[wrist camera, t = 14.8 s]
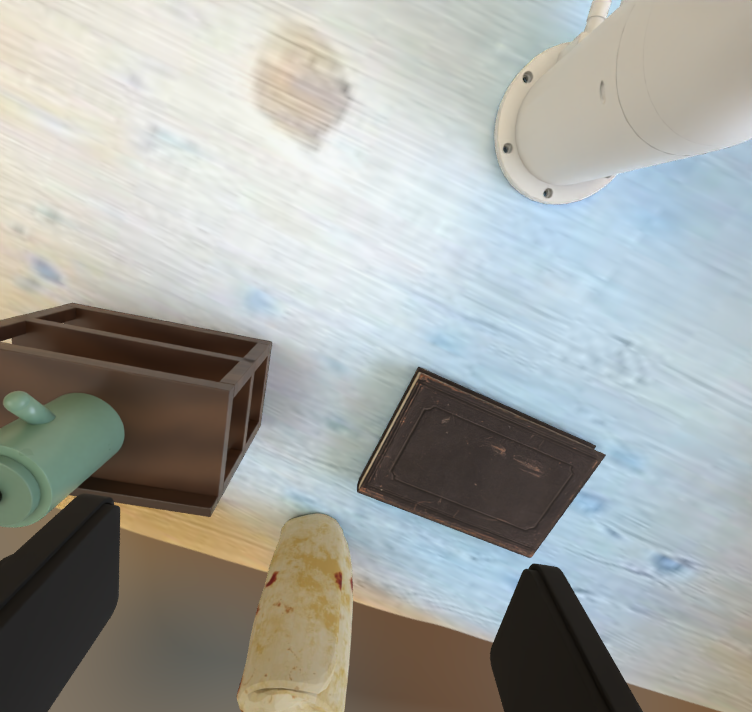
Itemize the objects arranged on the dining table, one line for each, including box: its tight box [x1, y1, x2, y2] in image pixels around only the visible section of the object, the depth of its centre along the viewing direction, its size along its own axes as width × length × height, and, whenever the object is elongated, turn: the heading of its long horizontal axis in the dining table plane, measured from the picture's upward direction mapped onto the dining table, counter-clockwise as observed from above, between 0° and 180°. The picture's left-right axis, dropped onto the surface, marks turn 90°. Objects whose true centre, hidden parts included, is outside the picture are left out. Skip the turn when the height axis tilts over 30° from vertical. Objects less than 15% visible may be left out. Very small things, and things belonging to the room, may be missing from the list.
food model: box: [237, 513, 353, 712], centre depth 38 cm, size 10×7×20 cm
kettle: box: [0, 391, 125, 527], centre depth 24 cm, size 8×6×9 cm
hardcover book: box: [357, 367, 606, 558], centre depth 44 cm, size 16×23×2 cm
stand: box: [0, 303, 272, 517], centre depth 34 cm, size 10×20×15 cm, turn 78°
